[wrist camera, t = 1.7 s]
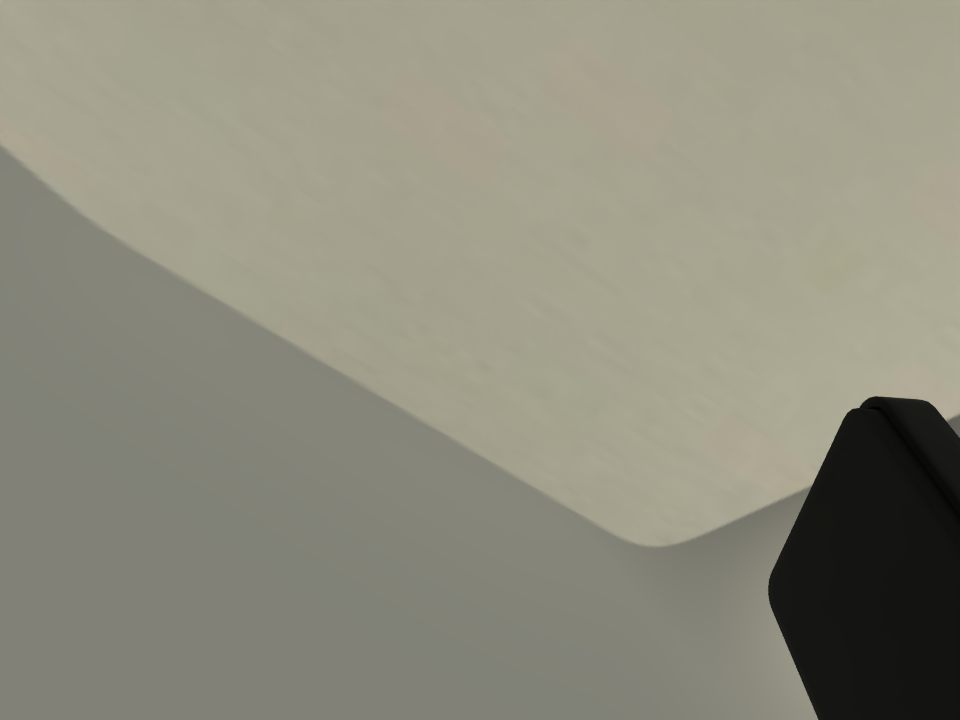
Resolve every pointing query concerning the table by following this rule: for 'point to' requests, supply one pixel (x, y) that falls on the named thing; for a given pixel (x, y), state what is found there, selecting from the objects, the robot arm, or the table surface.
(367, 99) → the table surface
